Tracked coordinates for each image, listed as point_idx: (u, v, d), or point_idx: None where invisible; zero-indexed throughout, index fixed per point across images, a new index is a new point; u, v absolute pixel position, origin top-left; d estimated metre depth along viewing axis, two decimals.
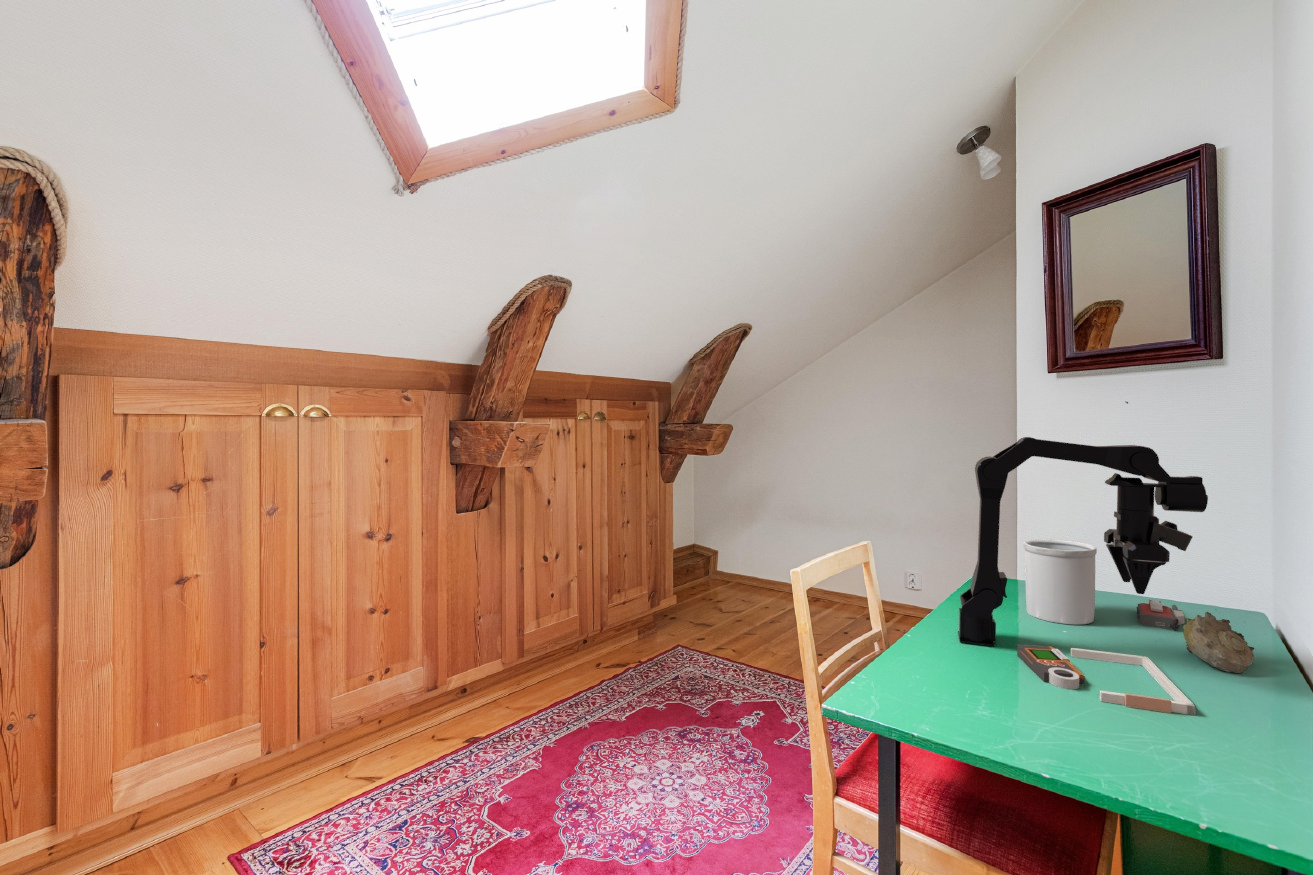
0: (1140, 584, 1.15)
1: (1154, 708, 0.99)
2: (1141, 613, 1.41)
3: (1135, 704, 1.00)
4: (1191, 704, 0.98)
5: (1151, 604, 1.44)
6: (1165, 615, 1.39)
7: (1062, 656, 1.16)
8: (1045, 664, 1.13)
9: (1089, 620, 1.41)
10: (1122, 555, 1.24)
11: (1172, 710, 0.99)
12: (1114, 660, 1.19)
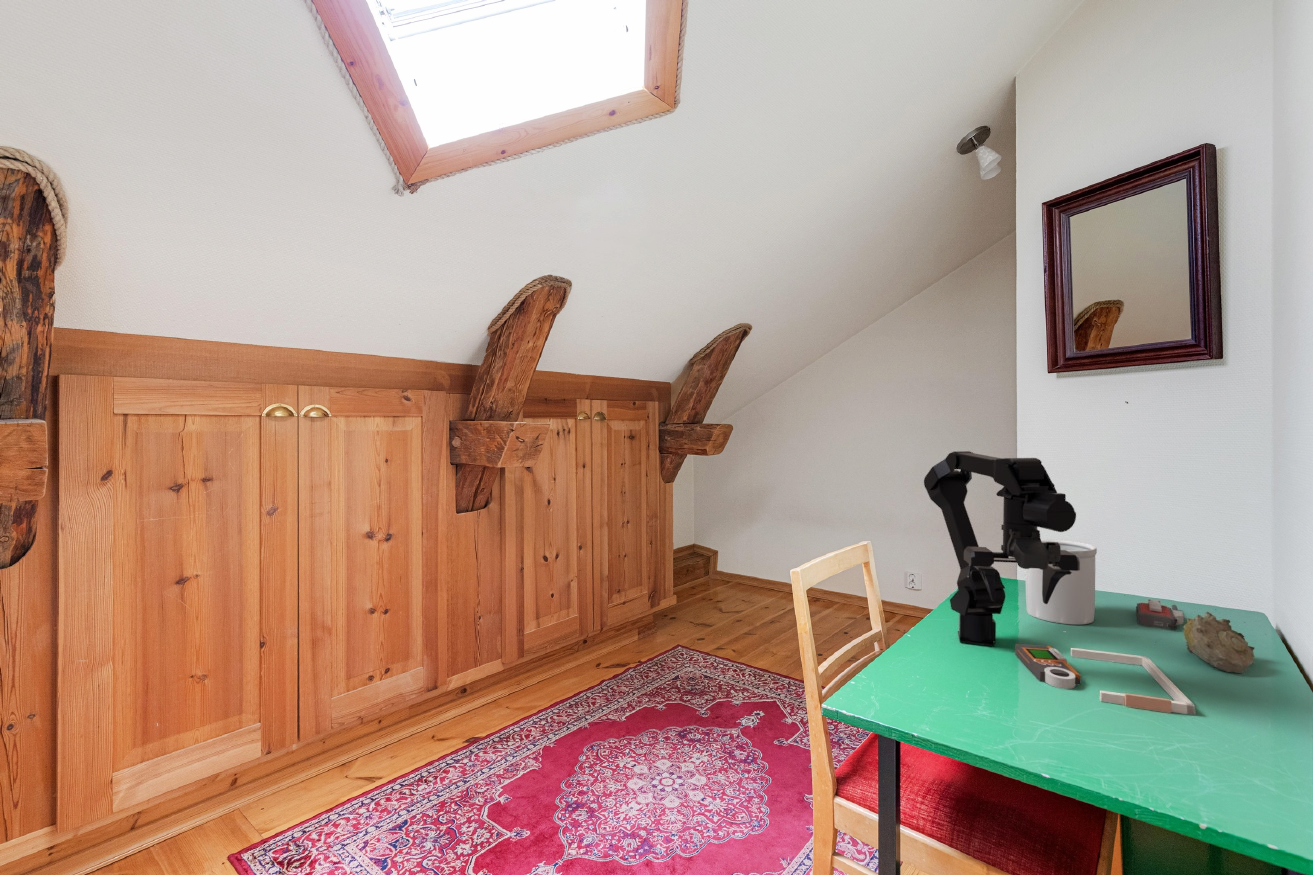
0: (989, 590, 1.19)
1: (1154, 708, 0.99)
2: (1140, 613, 1.42)
3: (1135, 704, 1.00)
4: (1191, 704, 0.98)
5: (1150, 604, 1.44)
6: (1164, 615, 1.39)
7: (1059, 656, 1.16)
8: (1042, 663, 1.13)
9: (1089, 620, 1.41)
10: (1046, 575, 1.18)
11: (1172, 710, 0.99)
12: (1114, 660, 1.19)
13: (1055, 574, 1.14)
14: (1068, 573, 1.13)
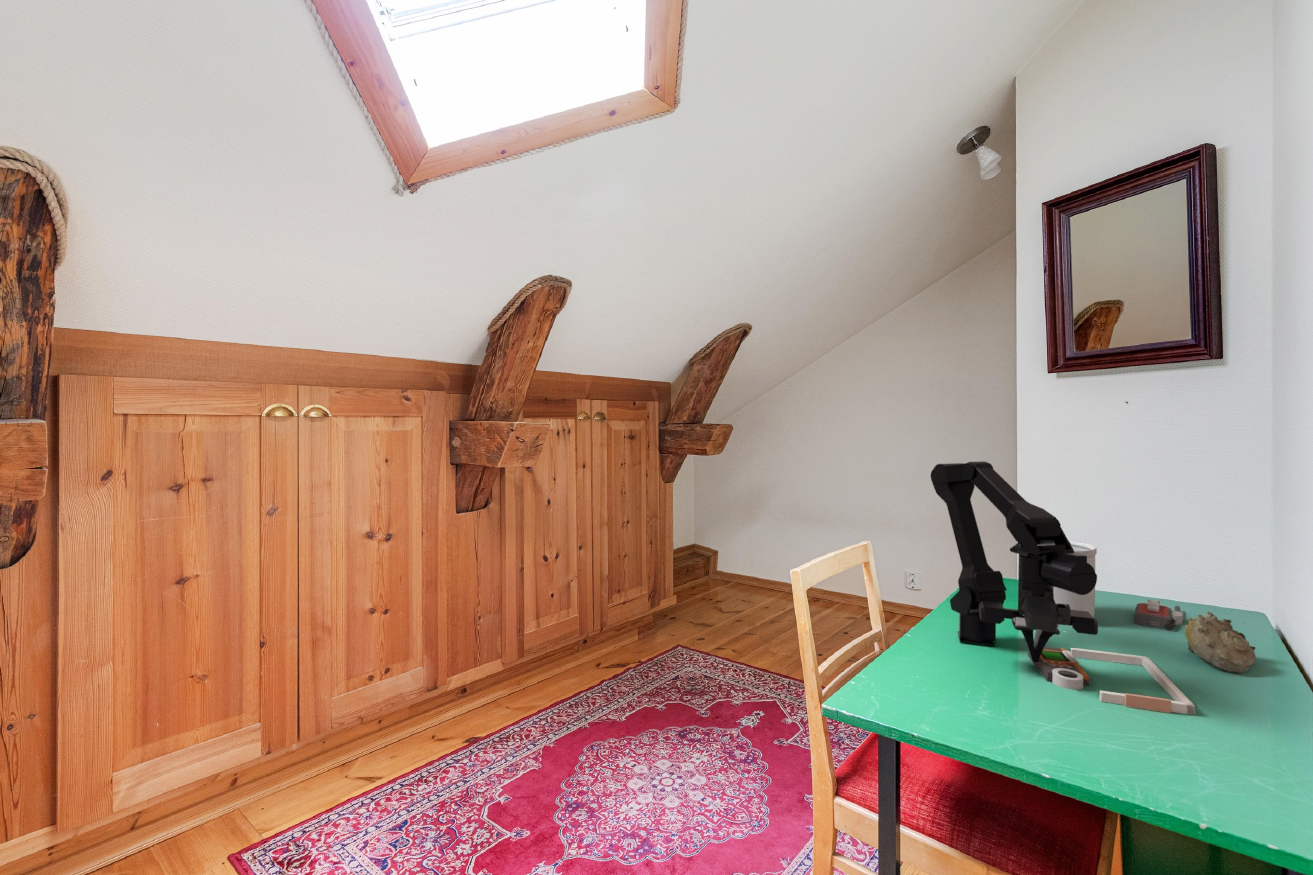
0: None
1: (1154, 708, 0.99)
2: (1136, 612, 1.42)
3: (1135, 704, 1.00)
4: (1191, 704, 0.98)
5: (1148, 604, 1.44)
6: (1160, 615, 1.39)
7: (1071, 658, 1.15)
8: (1051, 664, 1.13)
9: None
10: (1037, 633, 1.16)
11: (1172, 710, 0.99)
12: (1114, 660, 1.19)
13: (1042, 633, 1.13)
14: (1056, 633, 1.12)
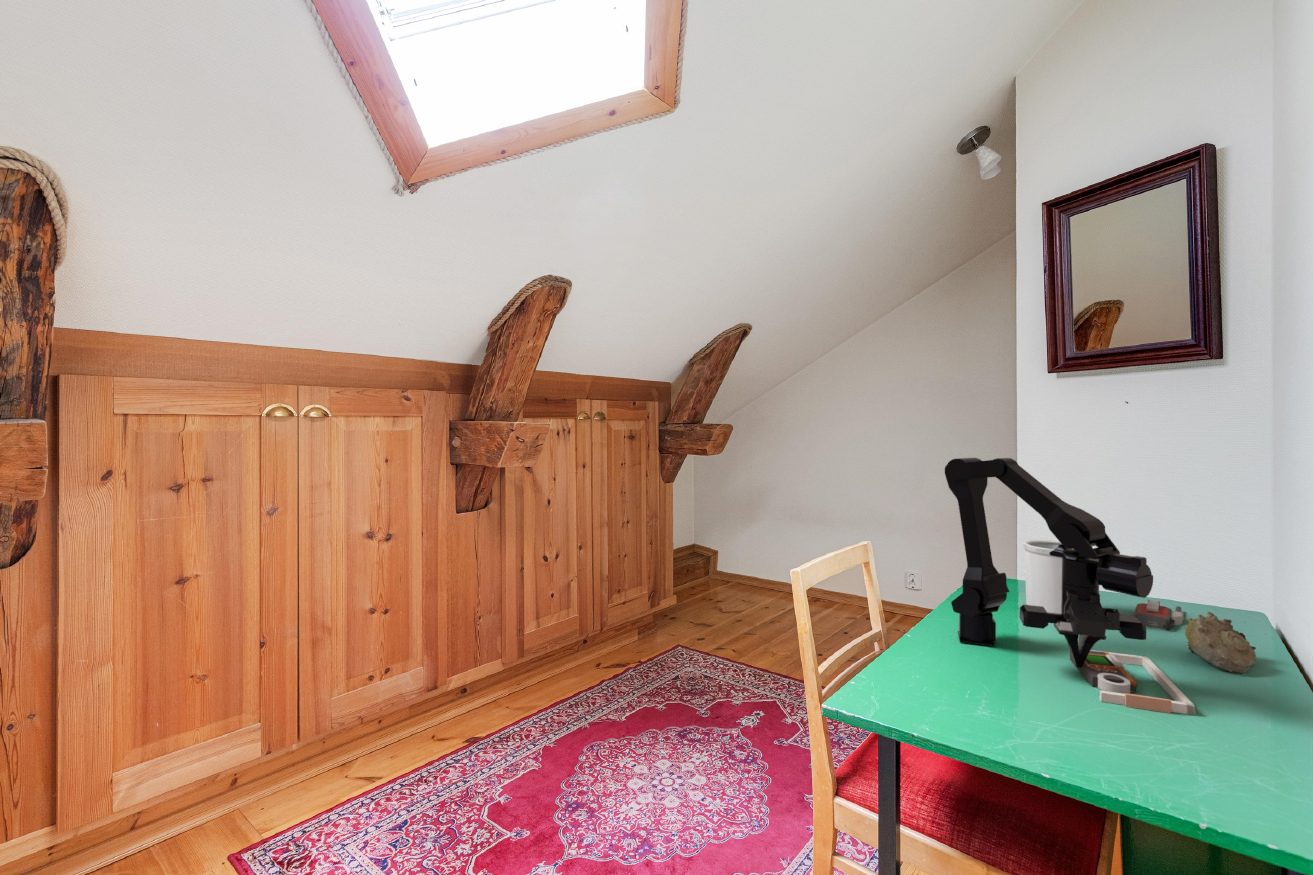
0: None
1: (1154, 708, 0.99)
2: (1135, 612, 1.42)
3: (1135, 704, 1.00)
4: (1191, 704, 0.98)
5: (1148, 604, 1.44)
6: (1159, 615, 1.39)
7: (1116, 662, 1.13)
8: (1095, 669, 1.11)
9: None
10: (1081, 637, 1.13)
11: (1172, 710, 0.99)
12: None
13: (1088, 638, 1.10)
14: (1102, 638, 1.09)
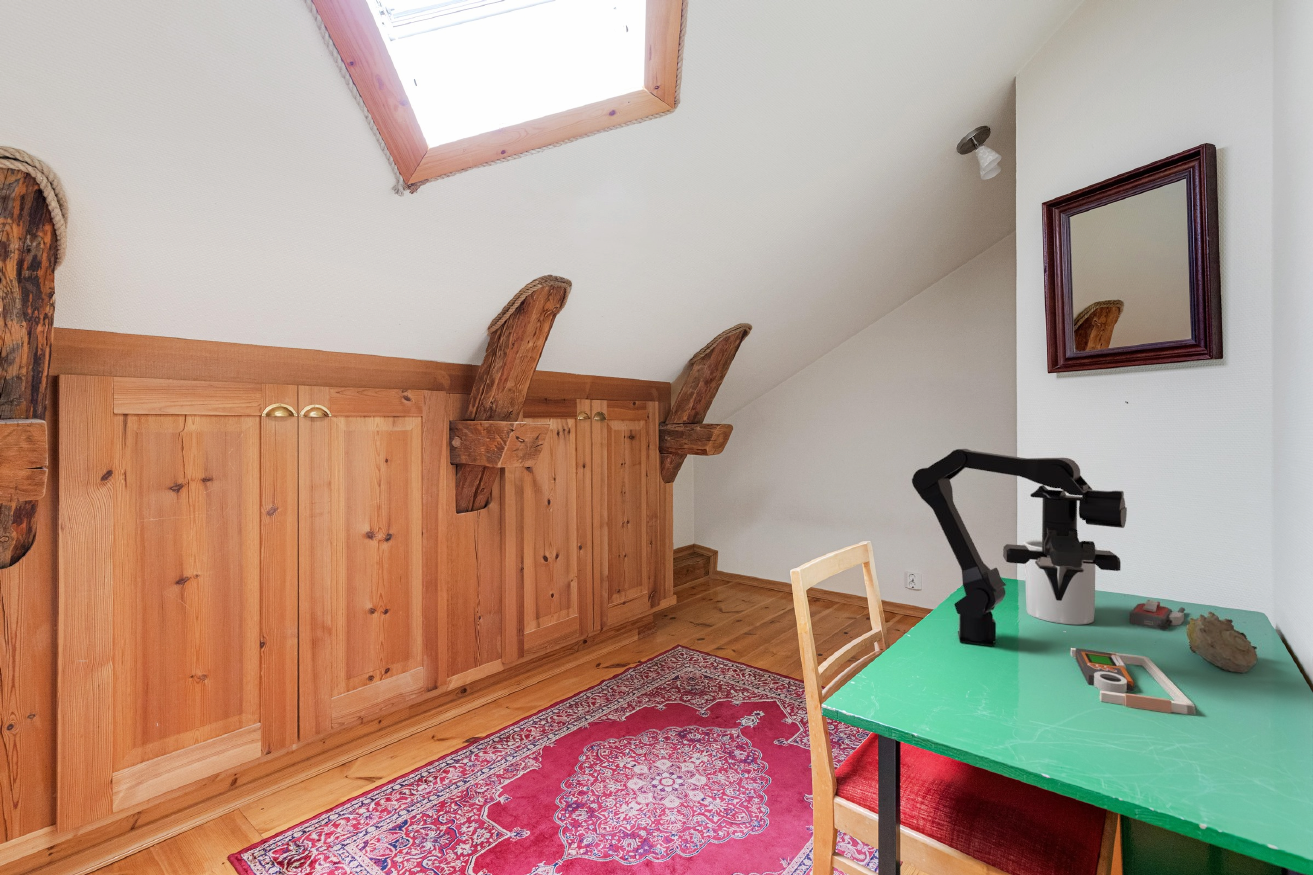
0: None
1: (1154, 708, 0.99)
2: (1132, 611, 1.42)
3: (1135, 704, 1.00)
4: (1191, 704, 0.98)
5: (1146, 604, 1.44)
6: (1155, 614, 1.39)
7: (1119, 662, 1.13)
8: (1095, 668, 1.11)
9: (1089, 620, 1.41)
10: (1061, 573, 1.20)
11: (1172, 710, 0.99)
12: None
13: (1067, 571, 1.17)
14: (1080, 571, 1.16)
